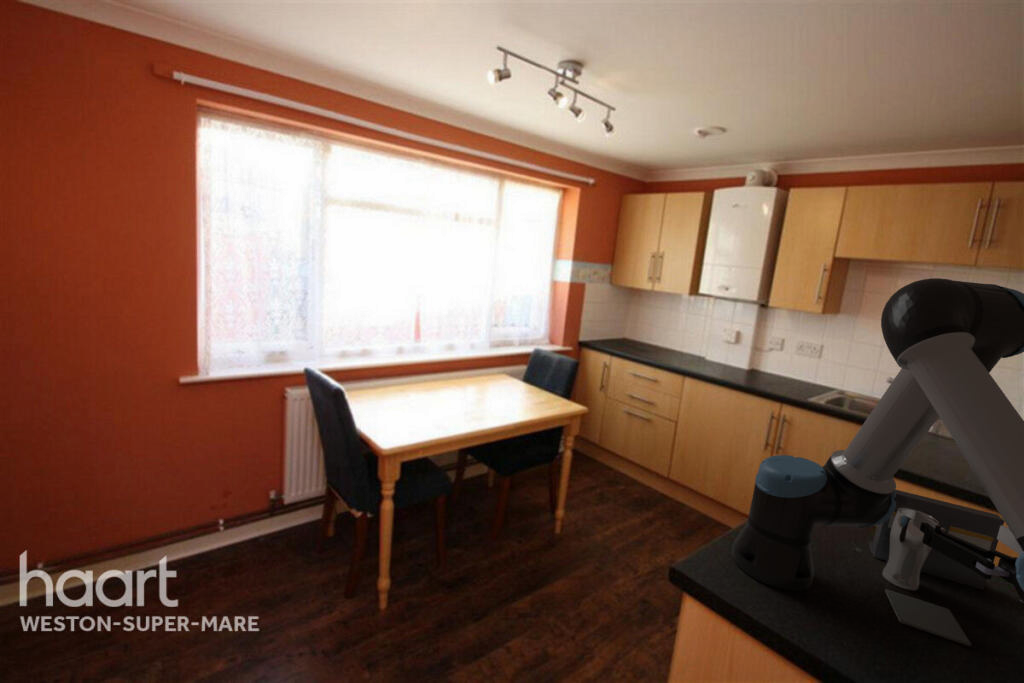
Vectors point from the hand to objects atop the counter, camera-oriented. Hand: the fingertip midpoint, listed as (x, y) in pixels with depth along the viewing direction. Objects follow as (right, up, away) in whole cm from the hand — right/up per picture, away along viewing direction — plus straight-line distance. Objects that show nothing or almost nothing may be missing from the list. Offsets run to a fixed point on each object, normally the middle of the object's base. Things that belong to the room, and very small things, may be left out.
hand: (958, 524), depth 86 cm
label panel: (+10, -17, +18) cm, 27 cm away
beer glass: (0, -17, +13) cm, 21 cm away
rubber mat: (-4, -18, +2) cm, 19 cm away
